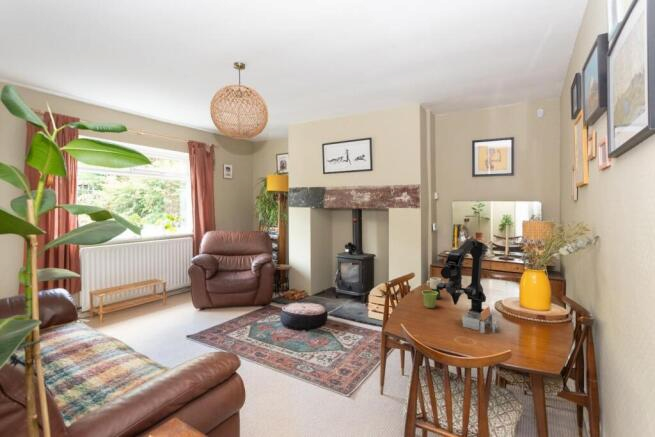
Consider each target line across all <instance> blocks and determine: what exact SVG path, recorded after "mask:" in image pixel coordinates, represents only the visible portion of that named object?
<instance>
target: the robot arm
mask: <svg viewBox="0 0 655 437" xmlns="http://www.w3.org/2000/svg"><path fill="white" fill-rule="evenodd" d="M487 249H488V248H487V245H486V244H485V243H484V242H481V241H479V240H477V239H475V238H467V239H466V241H465V242H463V244H462V245H460V246H459V247H458V248H457V249H453V250H451V251H449V252H448V254H447V256H446V259H445V262H444V267H443V268H442V269H441V270H440V275H441V277H442V278H443V279H445V280H448V281H447V283H446V282H444V283H442V282H443V281H441V283H439V284H437V289H438V290H440V291H443V290H444V289H445V290H446V293H447V294H449V295H450V297H451V299H452V301H453V305H457V304H458V302H459V300H460V297H461V295H464V294H465V295H466V298H467V300H470V308H469V309H468V310H469V311H472V312H477V313H481V312H482V311H483V310H484V309H485V308H483V303H486V301H487V296H486V295H485V293H484V288H483V286H482V284H481V281H482V280H481V279H482V278H481V277H482V265H483V264H482V263H483V262H482V260H483V258H484V256H485V254H486V251H487ZM469 253H470V256H471V257H472V264H471V276H470V278H471V280H470V281H471V282H470V284H468V285H467V286H466V287H463V284H462V282H463V281H462V280H463V276H462V275H463V274H462V272H463V270H462V269H463V268H462V267H464V264H463V263H464V261H465V260H466V255H467V254H469ZM469 311H468V312H469Z"/></svg>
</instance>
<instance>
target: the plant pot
mask: <svg viewBox="0 0 655 437" xmlns="http://www.w3.org/2000/svg"><path fill="white" fill-rule="evenodd" d="M421 294H422V296H423V304H424V307H425V308H429V309H433V308H436V302H437V299H436V297H437V294H438V292H436V291H431V289H430V290H422V291H421Z"/></svg>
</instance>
